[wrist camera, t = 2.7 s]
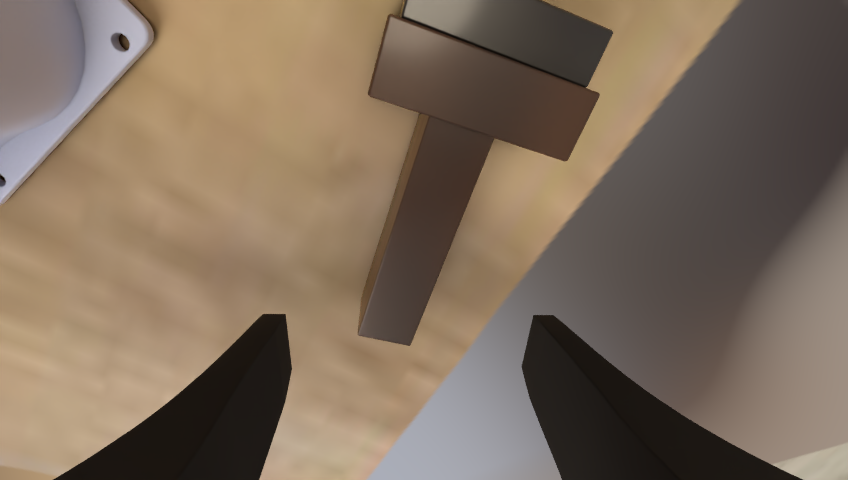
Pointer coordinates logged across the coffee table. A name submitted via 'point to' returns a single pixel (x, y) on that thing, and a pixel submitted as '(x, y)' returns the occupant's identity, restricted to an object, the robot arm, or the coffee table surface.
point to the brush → (467, 125)
